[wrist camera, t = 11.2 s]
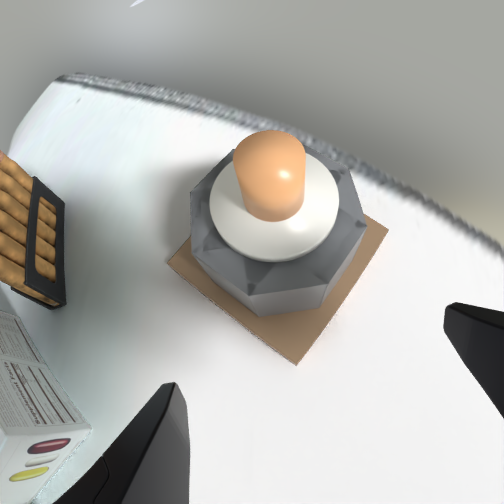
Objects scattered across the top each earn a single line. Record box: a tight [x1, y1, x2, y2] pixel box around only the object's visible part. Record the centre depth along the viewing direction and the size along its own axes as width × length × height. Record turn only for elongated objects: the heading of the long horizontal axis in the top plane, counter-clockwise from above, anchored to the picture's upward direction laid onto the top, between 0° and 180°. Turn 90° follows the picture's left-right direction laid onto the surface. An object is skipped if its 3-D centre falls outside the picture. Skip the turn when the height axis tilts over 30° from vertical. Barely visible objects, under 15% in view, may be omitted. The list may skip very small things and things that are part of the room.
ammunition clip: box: [0, 150, 66, 310], centre depth 19 cm, size 11×2×12 cm, turn 17°
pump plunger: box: [209, 130, 339, 262], centre depth 16 cm, size 6×6×9 cm
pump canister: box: [167, 144, 389, 366], centre depth 19 cm, size 11×11×6 cm
